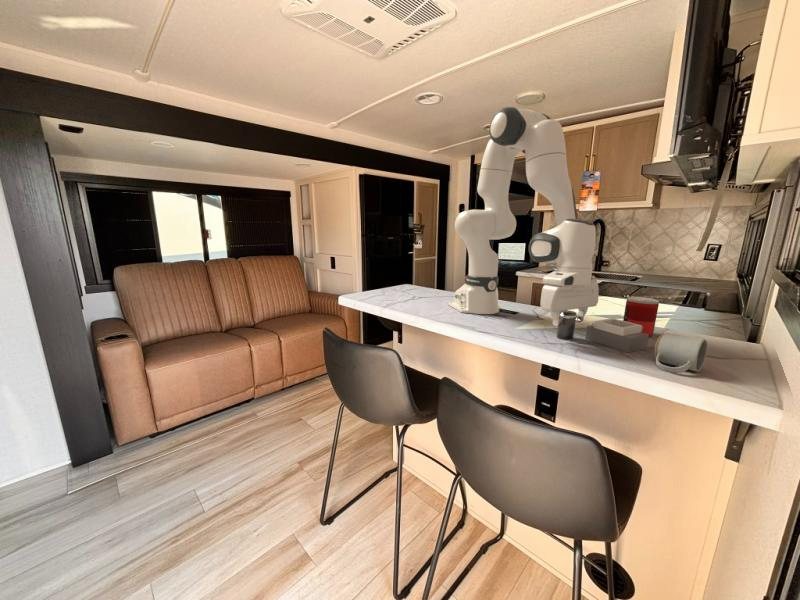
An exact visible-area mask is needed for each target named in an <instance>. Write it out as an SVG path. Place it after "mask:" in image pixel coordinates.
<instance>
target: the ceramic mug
mask: <svg viewBox="0 0 800 600" xmlns="http://www.w3.org/2000/svg"><path fill="white" fill-rule="evenodd" d="M653 352H654V354H653V355H654V357H655V363H656V366H657V367H658V369H660V370H662V371H663V372H667V373H671V374H681V373H684V372H687V371H693V372H694V373H698V372H700V371H701V370H702V368H703V366H704V364H705V362H706V357H707V353H708V340H707V339H706V338H702V337H701V338H700V337H694V336H686V335H682V334H681V335H680V334H674V333H662V334H660V335H659V337H657V340H656V341H655V345H654V351H653ZM663 363H664V364H663ZM665 364H667V365H672V366H675V367H672V366H667V365H665Z"/></svg>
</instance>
